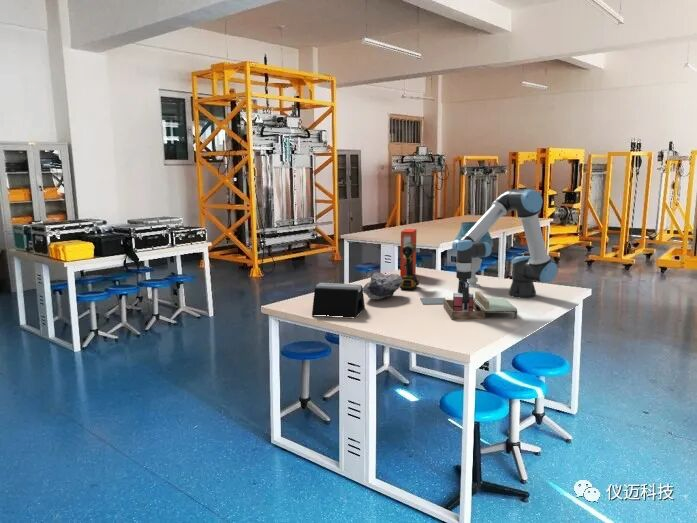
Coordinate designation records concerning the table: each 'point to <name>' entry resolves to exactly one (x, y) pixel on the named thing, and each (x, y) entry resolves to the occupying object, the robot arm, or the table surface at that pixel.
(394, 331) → the table surface
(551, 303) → the table surface
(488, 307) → the lid
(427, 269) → the table surface
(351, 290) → the device stand
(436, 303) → the mat
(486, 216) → the robot arm
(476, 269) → the table lamp
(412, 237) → the file binder
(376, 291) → the mineral sample
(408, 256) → the impact wrench
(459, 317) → the wooden frame
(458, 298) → the puzzle cube
